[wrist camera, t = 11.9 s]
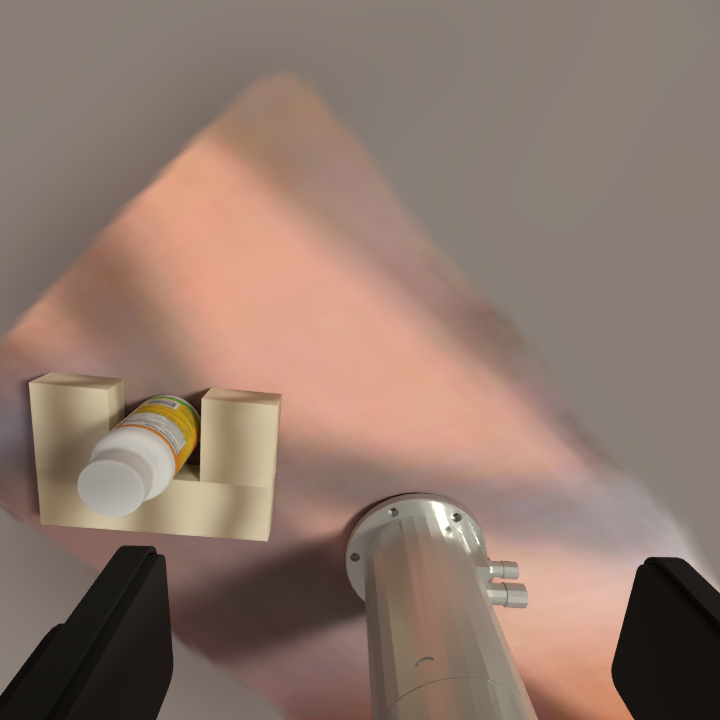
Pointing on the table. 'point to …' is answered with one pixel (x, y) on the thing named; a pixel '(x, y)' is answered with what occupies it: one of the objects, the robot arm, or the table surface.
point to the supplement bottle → (140, 456)
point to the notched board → (192, 482)
